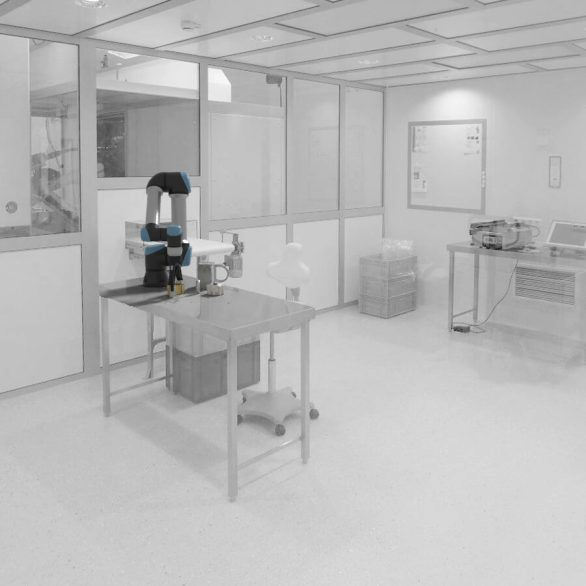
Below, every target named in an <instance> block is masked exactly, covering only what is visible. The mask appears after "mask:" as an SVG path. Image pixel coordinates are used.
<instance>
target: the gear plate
mask: <svg viewBox="0 0 586 586" xmlns="http://www.w3.org/2000/svg"><path fill="white" fill-rule="evenodd" d="M195 293H196V295H199V294H201V289H200V281H198V280H195Z"/></svg>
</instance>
